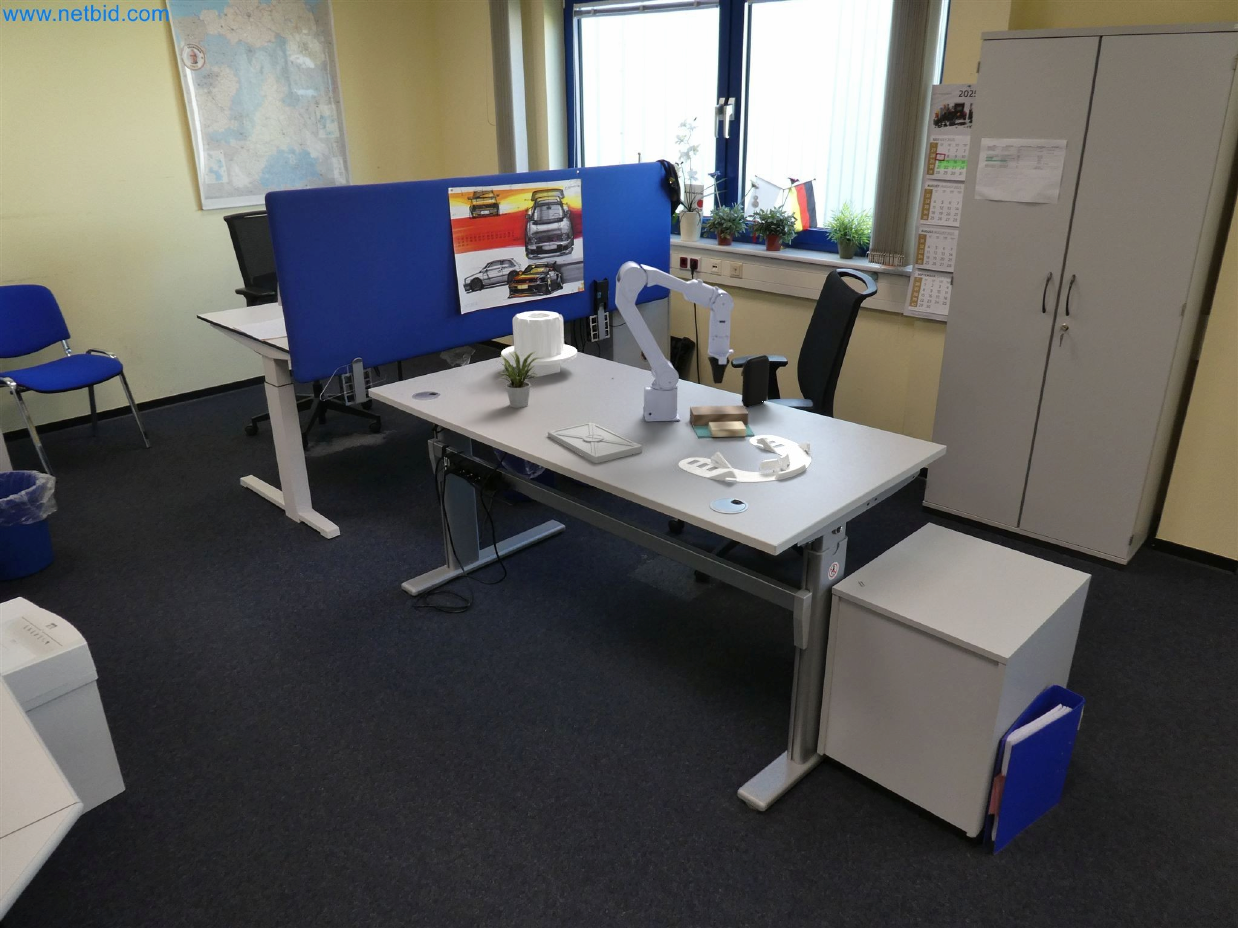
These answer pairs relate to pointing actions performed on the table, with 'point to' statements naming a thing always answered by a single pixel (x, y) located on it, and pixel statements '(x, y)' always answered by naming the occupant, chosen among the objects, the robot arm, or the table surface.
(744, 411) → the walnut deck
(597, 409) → the table surface
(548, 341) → the flanged gear
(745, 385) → the carrying case or bag
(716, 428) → the cream rectangular block
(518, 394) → the house plant
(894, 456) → the table surface
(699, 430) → the teal mat
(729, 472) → the cable organizer
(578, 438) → the envelope
